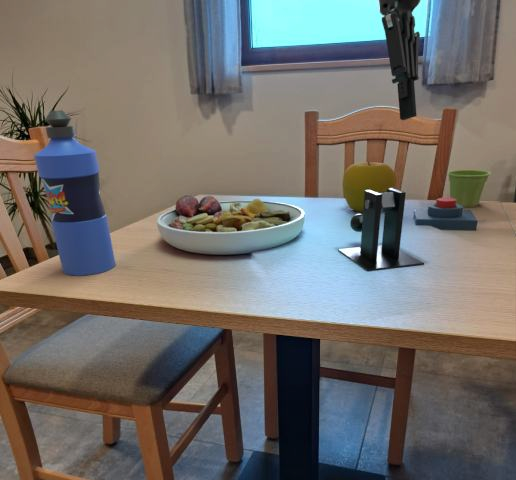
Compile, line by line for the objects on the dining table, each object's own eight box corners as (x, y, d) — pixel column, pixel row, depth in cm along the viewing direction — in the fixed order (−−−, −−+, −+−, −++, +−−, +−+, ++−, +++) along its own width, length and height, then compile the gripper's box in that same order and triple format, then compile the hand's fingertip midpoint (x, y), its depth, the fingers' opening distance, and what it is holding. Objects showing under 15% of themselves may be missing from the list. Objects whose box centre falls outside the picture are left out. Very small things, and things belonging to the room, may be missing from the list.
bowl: (329, 230, 100) (330, 192, 96) (251, 269, 78) (249, 223, 74) (219, 217, 115) (217, 184, 111) (128, 247, 93) (122, 207, 89)
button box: (468, 220, 104) (472, 201, 102) (475, 231, 95) (479, 211, 93) (413, 218, 107) (415, 201, 105) (415, 229, 98) (417, 210, 96)
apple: (348, 203, 125) (351, 158, 119) (397, 206, 119) (402, 159, 114) (334, 213, 114) (336, 164, 109) (386, 216, 109) (391, 165, 104)
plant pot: (467, 215, 107) (474, 176, 103) (434, 209, 115) (439, 172, 110) (491, 210, 112) (499, 172, 108) (457, 204, 119) (463, 168, 115)
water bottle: (83, 279, 77) (46, 111, 65) (51, 270, 82) (11, 112, 70) (127, 264, 83) (100, 108, 72) (94, 256, 88) (64, 110, 77)
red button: (454, 206, 101) (455, 197, 100) (456, 209, 97) (457, 201, 96) (434, 205, 101) (435, 197, 101) (436, 209, 98) (437, 201, 97)
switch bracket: (337, 255, 84) (340, 187, 78) (388, 250, 85) (394, 183, 80) (366, 276, 73) (372, 200, 68) (423, 270, 75) (434, 195, 70)
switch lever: (349, 234, 86) (346, 218, 86) (364, 233, 86) (362, 216, 86) (380, 210, 73) (376, 190, 73) (398, 208, 74) (395, 189, 74)
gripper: (393, 6, 94) (402, 128, 97) (364, -20, 84) (375, 117, 87) (430, -12, 89) (438, 117, 92) (404, -42, 79) (415, 104, 82)
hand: (408, 117), depth 90 cm, fingers closed
